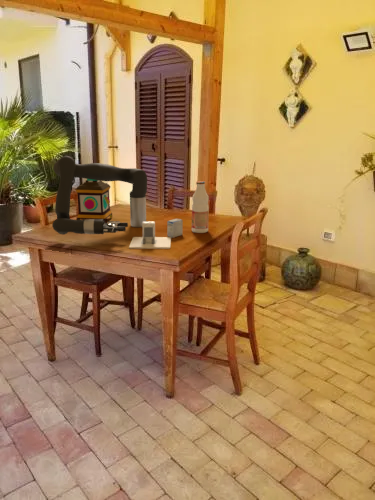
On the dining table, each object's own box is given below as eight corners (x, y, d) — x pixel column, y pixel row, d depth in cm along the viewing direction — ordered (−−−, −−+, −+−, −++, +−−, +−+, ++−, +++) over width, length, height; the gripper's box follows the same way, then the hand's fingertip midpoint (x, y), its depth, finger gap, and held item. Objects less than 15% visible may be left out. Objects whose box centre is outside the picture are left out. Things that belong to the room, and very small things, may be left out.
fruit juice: (200, 234, 226) (201, 183, 218) (188, 231, 232) (188, 181, 224) (211, 231, 233) (212, 181, 225) (199, 228, 239) (199, 180, 231)
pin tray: (133, 238, 217) (133, 232, 216) (171, 238, 217) (171, 232, 216) (129, 248, 200) (128, 241, 199) (170, 248, 200) (170, 242, 199)
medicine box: (176, 233, 227) (176, 218, 225) (182, 235, 225) (182, 219, 222) (167, 236, 221) (166, 220, 219) (173, 237, 219) (173, 222, 216)
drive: (143, 240, 210) (143, 221, 207) (155, 240, 210) (154, 221, 207) (142, 242, 206) (142, 223, 203) (154, 242, 206) (154, 223, 203)
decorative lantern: (85, 216, 265) (82, 169, 256) (115, 217, 263) (113, 170, 254) (74, 224, 246) (70, 173, 237) (106, 225, 244) (103, 174, 235)
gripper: (90, 222, 197) (124, 222, 198) (96, 216, 211) (128, 216, 211) (91, 237, 200) (125, 237, 200) (97, 230, 213) (128, 230, 214)
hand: (126, 226), depth 206 cm, fingers open, 8 cm apart
